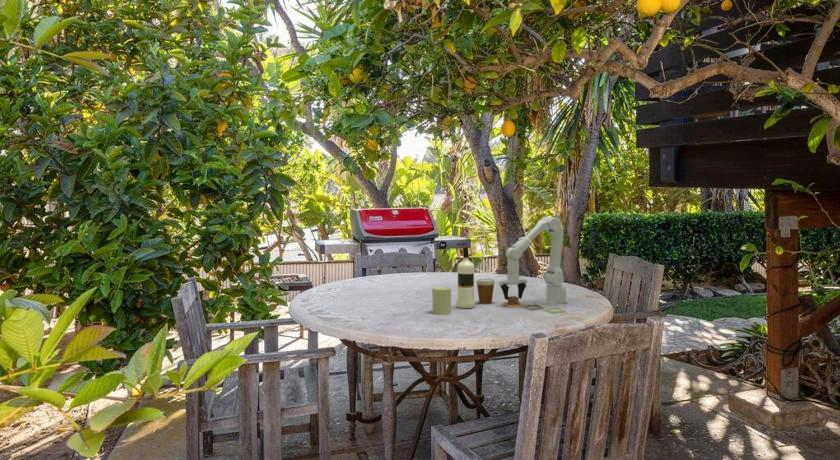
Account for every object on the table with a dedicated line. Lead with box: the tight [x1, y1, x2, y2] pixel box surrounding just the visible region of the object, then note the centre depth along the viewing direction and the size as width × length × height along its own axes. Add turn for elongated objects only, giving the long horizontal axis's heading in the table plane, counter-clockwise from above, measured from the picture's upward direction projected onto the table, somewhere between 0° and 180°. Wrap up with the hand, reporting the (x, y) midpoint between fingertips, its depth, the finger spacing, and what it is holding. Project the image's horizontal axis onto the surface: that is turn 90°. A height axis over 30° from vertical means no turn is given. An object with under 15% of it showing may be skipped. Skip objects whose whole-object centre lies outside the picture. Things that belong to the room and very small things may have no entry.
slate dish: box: [521, 303, 546, 311], centre depth 284 cm, size 8×8×1 cm
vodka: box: [456, 246, 476, 310], centre depth 288 cm, size 9×9×30 cm
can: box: [431, 286, 452, 315], centre depth 278 cm, size 9×9×12 cm
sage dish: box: [542, 306, 567, 315], centre depth 277 cm, size 8×8×1 cm
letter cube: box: [507, 295, 520, 305], centre depth 290 cm, size 4×4×4 cm
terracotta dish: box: [501, 301, 525, 308], centre depth 291 cm, size 8×8×1 cm
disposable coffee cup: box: [475, 278, 496, 305], centre depth 298 cm, size 10×10×12 cm
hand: (513, 298), depth 291 cm, fingers open, 7 cm apart
